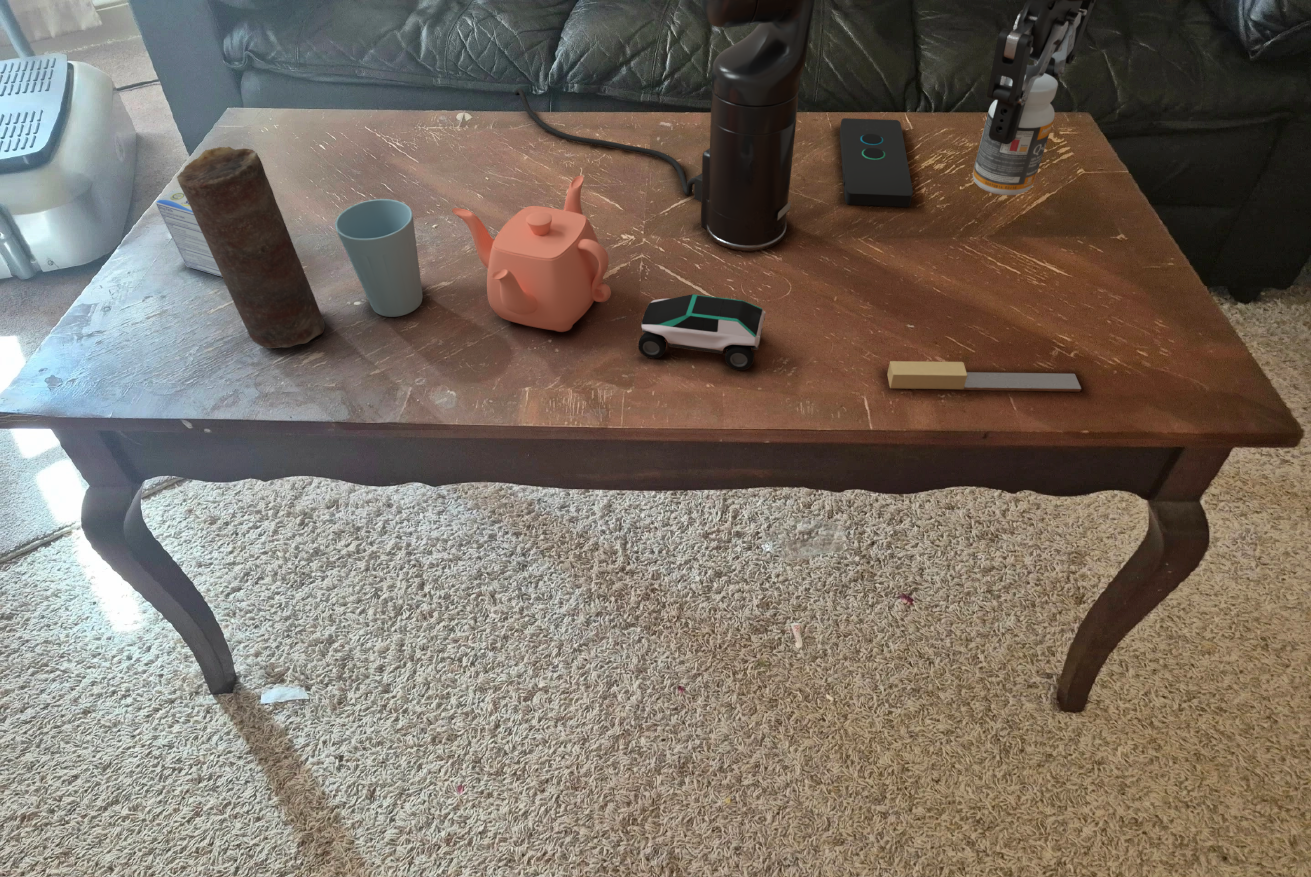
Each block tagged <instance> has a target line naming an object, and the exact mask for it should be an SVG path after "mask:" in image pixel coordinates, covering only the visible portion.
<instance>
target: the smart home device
mask: <svg viewBox="0 0 1311 877" xmlns="http://www.w3.org/2000/svg"><path fill="white" fill-rule="evenodd" d="M839 144H840V156H841V168H842V170H841V171H842V186H843V195H844V202H845V203H846V204H847V205H850V206H870V207H871V206H875V207H898V208H909V207H910V206H911V204H912V198H913V195H914V194H913V193H914V190H913V184H912V178H911V174H910V168H909V163H908V157H907V151H906V146H905V140H904V134H903V128H902V124H901V121H900V120H898V119H881V118H880V119H877V118H849V117H847V118H846V117H844V118H842V119H841V120H840V128H839Z"/></svg>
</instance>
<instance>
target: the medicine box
mask: <svg viewBox="0 0 1311 877" xmlns="http://www.w3.org/2000/svg"><path fill="white" fill-rule="evenodd" d="M155 206H156V208H157V210H158V212H159V214H160V217H161V218H162V220H163V222H164V225H165V227H166V228H167V230H168V233H169V234H170V236H171V238H172V241H173V242H174V245H175V247H176V249H177V251H178V253H179V256H180V257H181V260H182V261H183V263H184V265H185V266H186V267H188V268H190V269H193V270H198V271H201V272H204V273H208V274H211V275H215V276H218V277H220V278H223V277H222V275H221V273H220V271H219V268H218V266H217V264H216V262H215V260H214V258H213V255H212V253H211V251H210V249H209V246H208V244H207V242H206V240H205V238H204V236H203V233H202V231H201V229H200V227H199V225H198V223H197V221H196V218H195V216H194V214H193V211H192V209H191V207H190V205H189V202H188V200H187V199H186V197H185V195H184V193H183V191H182V189H181V187H180V185H179V186H178V187H176V188H174V189H172V190H171V191H169V192H167V193H166V194H164V195H163V196H162V197H160V198H159V199H158V200H157V201H155Z"/></svg>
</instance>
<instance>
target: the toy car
mask: <svg viewBox="0 0 1311 877" xmlns="http://www.w3.org/2000/svg"><path fill="white" fill-rule="evenodd" d="M765 320H766V311H765V310H764V309H763V308H762V307H760V306H758V305H755V304H753V303H750V302H748V301H745V300H743V299H735V298H727V297H718V296H711V295H710V296H709V295H703V294H695V293H694V294H693V293H692V294H691V293H690V294H685V295H681V296H676V297H672V298H660V299H653V300H652V301H651V302H649V303H648V304H647V306H646V308H645V310H644V313H643V316H642V320H641V329H642V331H641V332H642V333H643V334H641V335H640V337H639V339H638V342H637V348H638V350H639V352H640V353H641V354H642V355H643V356H644V357H646V358H648V359H659V358H661V357H662V356H664V354H665V352H666V350H667V346H668V347H669V348H677V349H684V350H690V351H698V352H704V353H705V352H706V353H713V354H719V355H724V360H725V363H726V364H727V365H728V367H730V369H733V370H735V371H746V370H748V369H749V368H751V367H752V365H753V363H754V361H755V353H754V350H755V351H758V350H759V346H760V342H761V338H762V333H763V325H764V321H765ZM667 344H668V345H667ZM724 352H725V354H724Z"/></svg>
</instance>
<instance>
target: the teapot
mask: <svg viewBox="0 0 1311 877" xmlns="http://www.w3.org/2000/svg"><path fill="white" fill-rule="evenodd" d="M584 180H585V179H584V176H583V175H577V176H575V177H574V178H573V179H572V181H570V184H569V186H568V188H567V193H566V197H565V200H564V201H565V202H564V206H563V209H559V208H554V207H547V206H541V205H528V206H526V207H524V208H522V209H521V210H519V211H518V212H517V213H515V214H514V215H513V216H512V217H511V218H510V219H509V220H507V222H506V223H505V224H504V225H503V227H501V229H500V230H499V231H498V233H497V234H496V236H495V238H493V237H492V236H491V234H490V233H489V231H488V230H487V228H486V226H485V224H484V223H483V221H482V220H481V219H480V218H479V217H478V216H477V215H476V214H475V213H474V212H472V211H470V210H468V209H465V208H461V207H454V208H452V209H451V212H452V213H453V214H454V215H456V216H457V217H458V218H460V219H461V221H463V222H464V223H465V225H466V226H467V228H468V230H469V232H470V235H471V236H472V241H473V244H474V247H475V251H476V254H477V256H478V258H479V260H480V262H481V263H482V265H483V266H484V267H485V268H486V269H487V273H486V274H487V275H486V276H487V277H486V290H487V300H488V302H489V306H490V307H491V310H493V311H494V313H495V314H496V315H497V316H498V317H499V318H501V319H502V320H503V319H504V320H506V321H509V322H512V323H516V324H520V325H523V326H527V327H531V328H532V327H533V328H538V329H543V330H549V331H555V332H559V333H564V332H569V331H570V330H571V329H572V328H573V325H574V324H575V323H577V322H578V321H579V320H580V319H581V318H582V317H583V316H584V315H585V314H586V313H587V312H588V311H589V309H590V308H591V307H592V305H593V304H594V302H596V303H604V302H606V301H608V300H609V298H610V297H611V293H612V290H611V288H610V286H609V285H608V284H606V283H603V281H604V277H605V275H606V273H607V270H608V267H609V262H610V260H609V259H610V258H609V254H608V251H607V250H606V248H605V247H603V245H601V244H600V242H599V240H598V237H597V235H596V233H595V231H594V228H593V226H592V224H591V222H590V221H589V218H588V217H587V216H585V215H584V214H583V208H582V202H581V196H582V194H581V193H582V188H583V184H584Z"/></svg>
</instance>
